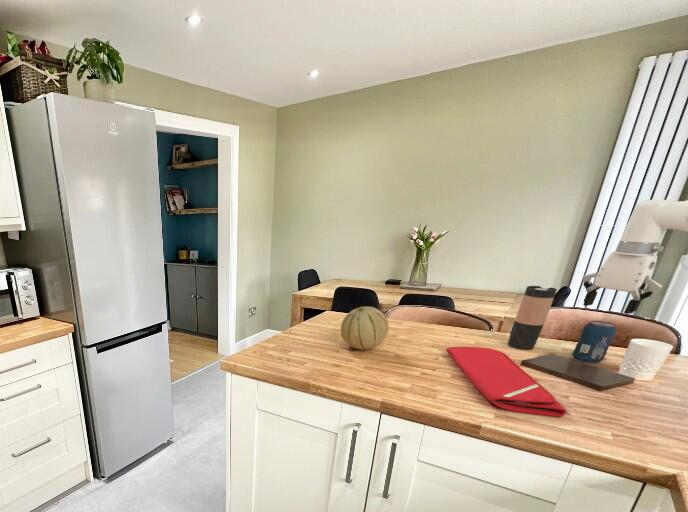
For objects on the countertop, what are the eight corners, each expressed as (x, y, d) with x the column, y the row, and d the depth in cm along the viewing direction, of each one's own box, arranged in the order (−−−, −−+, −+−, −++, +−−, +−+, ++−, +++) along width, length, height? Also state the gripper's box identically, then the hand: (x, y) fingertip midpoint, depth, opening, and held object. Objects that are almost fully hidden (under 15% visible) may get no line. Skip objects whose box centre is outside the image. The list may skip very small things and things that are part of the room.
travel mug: (514, 349, 134) (536, 290, 125) (501, 342, 141) (521, 285, 132) (539, 350, 133) (563, 290, 124) (525, 343, 139) (547, 285, 131)
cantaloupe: (392, 349, 137) (402, 306, 130) (367, 359, 129) (376, 314, 123) (353, 338, 148) (360, 298, 141) (329, 347, 140) (335, 305, 134)
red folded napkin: (500, 357, 128) (504, 346, 126) (566, 418, 93) (572, 404, 91) (444, 352, 133) (447, 342, 131) (487, 409, 98) (492, 396, 96)
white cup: (615, 368, 118) (630, 336, 114) (654, 376, 113) (672, 342, 109) (614, 376, 113) (630, 343, 109) (655, 384, 108) (674, 350, 104)
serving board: (632, 383, 109) (635, 378, 109) (600, 391, 105) (603, 386, 105) (550, 358, 126) (552, 354, 126) (519, 364, 122) (521, 360, 122)
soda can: (579, 355, 128) (595, 319, 123) (606, 362, 122) (624, 325, 117) (565, 358, 126) (581, 321, 121) (592, 365, 120) (609, 327, 115)
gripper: (687, 251, 104) (654, 315, 111) (605, 244, 119) (580, 301, 126) (671, 253, 102) (637, 318, 109) (589, 245, 116) (564, 303, 124)
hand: (607, 309), depth 118 cm, fingers open, 9 cm apart
